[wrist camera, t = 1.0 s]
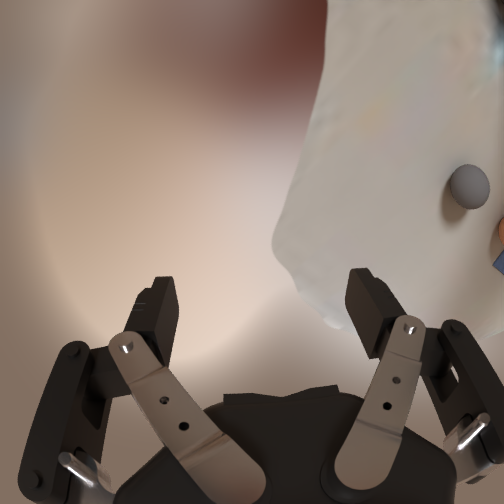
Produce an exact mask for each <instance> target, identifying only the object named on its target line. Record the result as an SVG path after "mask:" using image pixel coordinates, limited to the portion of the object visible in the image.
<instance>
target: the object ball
mask: <svg viewBox="0 0 504 504" xmlns="http://www.w3.org/2000/svg"><path fill="white" fill-rule="evenodd" d="M499 237H500V240H501V242H502V244H503V245H504V217H503V219H502V220H501V222H500V225H499Z"/></svg>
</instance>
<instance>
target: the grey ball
mask: <svg viewBox="0 0 504 504" xmlns="http://www.w3.org/2000/svg"><path fill="white" fill-rule="evenodd" d="M450 187H451V192H452V195H453V197H454V199H455V200H456V202H457V203H458V204H459V205H461V206H462V207H464V208H466V209H477V208H479V207H481V206H483V205H484V204H485V202H486V201H487V199H488V197H489V192H490V185H489V181H488V178H487V176H486V175H485V173H484V172H483V171H482V170H481V169H480V168H478V167H477V166H474V165H469V164H467V165H463V166H460V167H459V168H457V169H456V170H455V172H454V173H453V175H452V178H451V183H450Z"/></svg>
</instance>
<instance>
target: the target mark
mask: <svg viewBox="0 0 504 504" xmlns="http://www.w3.org/2000/svg"><path fill="white" fill-rule="evenodd" d="M493 266H495V267H496V268H497V269H498V270H499V271H500V272H502V273H503V274H504V251H503V252H502V253H501V255H500V256H499V257H498V258H497V260H496V261H495V262H494V264H493Z"/></svg>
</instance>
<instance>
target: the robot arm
mask: <svg viewBox="0 0 504 504" xmlns="http://www.w3.org/2000/svg"><path fill="white" fill-rule="evenodd" d="M502 2H503V3H504V0H502ZM345 305H346V309H347V311H348V313H349V315H350V318H351V320H352V322H353V324H354V326H355V328H356V331H357V333H358V335H359V337H360V339H361V342H362V344H363V346H364V348H365V351H366V353H367V355H368V357H369V359H374V358H379V360H380V362H379V365H378V367H377V369H376V372H375V375H374V377H373V379H372V382H371V384H370V386H369V388H368V391H367V393H366V395H365V397H364V399H363V398H360V397H358V396H356V395H352V394H348V393H342V392H339V390H338V386H337V385H330V386H324V387H315V388H310V389H306V390H304V391H301V392H298V393H295V394H291V395H288V396H285V397H277V396H276V397H275V396H269V395H262V394H255V393H243V394H224V398H223V402H221V403H218V404H215V405H212V406H210V407H208V408H206V409H204V410H202V409H201V408H200V407H199V406H198V404H197V403H196V402H195V401H194V400H193V398H192V397H191V396H190V395H189V394H188V392H187V391H186V390H185V389H184V388H183V386H182V385H181V384H180V383H179V381H178V380H177V379H176V377H175V376H174V375H173V374H172V372H171V371H170V370H169V369H168V367H169V362H170V357H171V352H172V347H173V342H174V336H175V332H176V327H177V322H178V317H179V305H178V300H177V295H176V290H175V285H174V280H173V277H172V276H169V277H168V276H166V277H155V279H154V282H153V285H152V287H151V288H145V289H144V290H143V291H142V292H141V293H139V294H138V296H137V298H136V301H135V304H134V306H133V308H132V311H131V313H130V316H129V318H128V321H127V323H126V326H125V328H124V331H123V332H121V333H119V334H117V335H115V336H114V337H113V338H112V339H111V340H110V342H109V345H108V346H105V347H101V348H95V349H90V348H89V346H88V345H87V344H86V343H85V342H83V341H73V342H70V343H68V344H66V345H65V346H64V347H63V348H62V349H61V351H60V353H59V355H58V357H57V360H56V362H55V364H54V366H53V369H52V372H51V374H50V376H49V379H48V381H47V384H46V386H45V389H44V392H43V394H42V397H41V400H40V403H39V405H38V408H37V411H36V414H35V417H34V420H33V423H32V426H31V429H30V433H29V436H28V439H27V443H26V446H25V450H24V453H23V457H22V461H21V465H20V470H19V474H18V486H19V488H20V491H21V492H22V494H23V495H24V496H25V497H26V498H27V499H29V500H31V501H33V502H35V503H37V504H454V496H455V489H456V486H458V485H461V484H463V483H467V484H474V483H476V482H478V481H479V480H481V479H483V478H484V477H486V476H487V475H488V474H490V473H491V472H493V471H494V470H495V469H497V468H498V467H500V466H501V465H502V464H504V386H503V384H502V383H501V381H500V379H499V377H498V376H497V374H496V372H495V371H494V369H493V367H492V366H491V364H490V362H489V361H488V359H487V357H486V356H485V354H484V353H483V351H482V350H481V348H480V346H479V345H478V343H477V342H476V340H475V339H474V337H473V336H472V334H471V333H470V331H469V330H468V328H467V327H466V326H465V325H464V324H463V323H461V322H460V321H457V320H453V319H450V320H446V321H444V323H443V324H442V327H441V329H437V328H426V327H425V325H424V323H423V322H422V321H421V320H420V319H418V318H417V317H414V316H411V315H407V314H406V312H405V311H404V309H403V308H402V306H401V305H400V303H399V302H398V300H397V299H396V297H394V295H393V293H392V292H391V290H390V289H389V287H388V286H387V284H386V283H384V282H383V281H382V280H380V279H379V278H374V276H373V275H372V274H371V272H370V271H369V269H368V268H356V269H351V271H350V274H349V279H348V285H347V290H346V295H345ZM452 366H453V367H454V368H455V370H456V372H457V374H458V377H459V382H457V380H456V378H455V376H454V374H453V372H452V370H451V367H452ZM419 376H422V379H423V381H424V383H425V385H426V388H427V390H428V392H429V395H430V397H431V399H432V402H433V404H434V407H435V409H436V412H437V414H438V417H439V419H440V422H441V424H442V427H443V429H444V432H445V435H446V437H445V439H444V443H443V447H444V450H442V449H440V448H438V447H437V446H436V445H434V444H432V443H431V442H429V441H427V440H426V439H424V438H422V437H421V436H420V435H418V434H416V433H415V432H413V431H412V430H410V429H408V428H407V427H405V422H406V420H407V417H408V414H409V410H410V407H411V404H412V400H413V396H414V393H415V390H416V386H417V382H418V378H419ZM130 394H131V395H132V396H133V398H134V400H135V401H136V403H137V405H138V406H139V408H140V410H141V411H142V413H143V414H144V416H145V417H146V419H147V421H148V422H149V424H150V425H151V427H152V428H153V430H154V432H155V433H156V435H157V436H158V437H159V439H160V441H161V442H162V443H163V445H164V447H163V448H162V449H161V450H160V451H159V452H158V453H157V454H155V456H153V457H152V458H151V459H150V460H149V461H148V462H147V463H146V464H145V465H144V466H143V467H142V468H140V469H139V470H138V471H137V472H136V473H135V474H134V475H133V476H132V477H130V478H129V479H128V480H127V481H126V482H125V483H124V484H123V485H122V486H121V487H120V488H119V489H118V491H117V492H116V494H114V492H113V490H112V488H111V480H110V475H109V473H108V472H107V470H106V469H105V468H104V467H103V466H101V465H100V464H101V456H102V451H103V444H104V439H105V433H106V428H107V423H108V418H109V413H110V408H111V403H112V398H114V397H119V396H125V395H130Z"/></svg>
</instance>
